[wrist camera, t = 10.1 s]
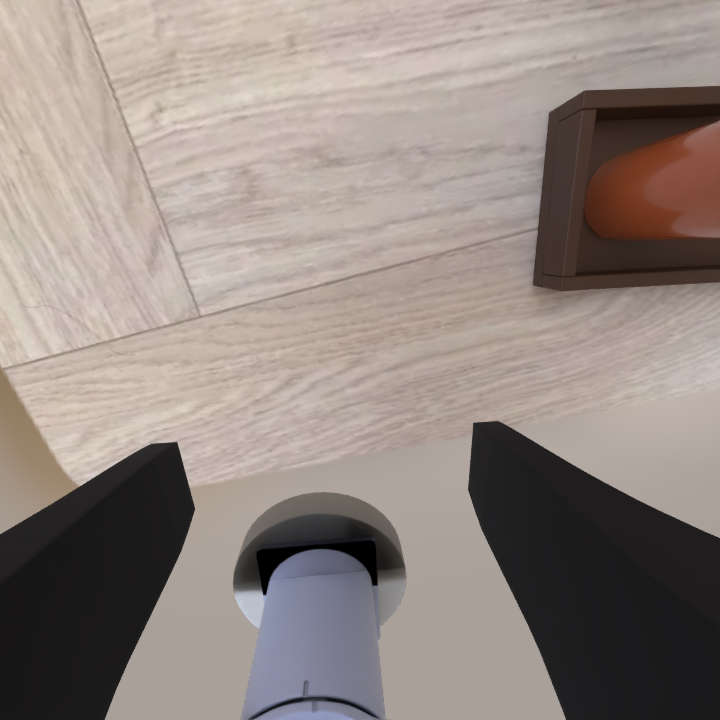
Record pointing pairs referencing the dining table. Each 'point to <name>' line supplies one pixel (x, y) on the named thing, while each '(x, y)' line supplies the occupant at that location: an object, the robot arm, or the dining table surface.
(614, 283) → the tray
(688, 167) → the terracotta bottle
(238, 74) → the dining table surface
